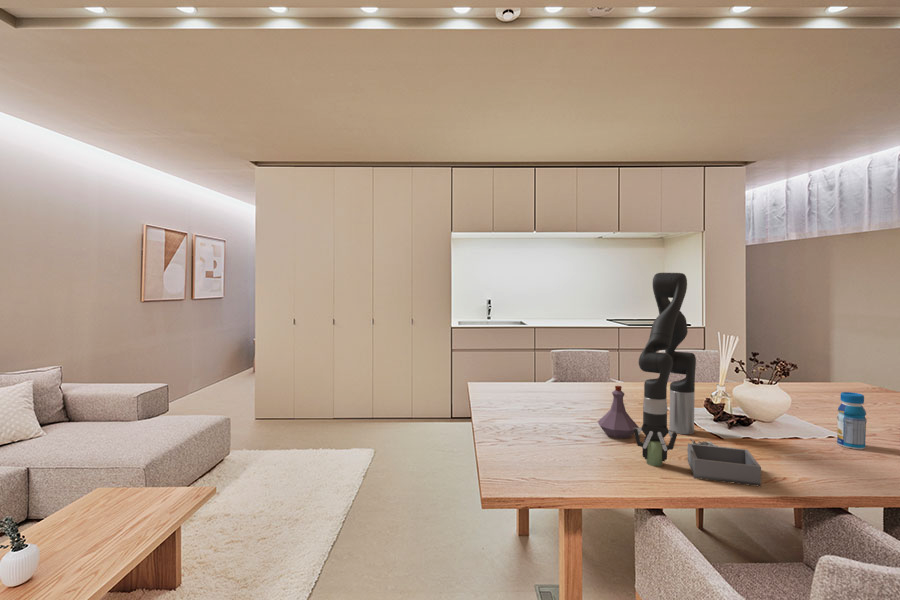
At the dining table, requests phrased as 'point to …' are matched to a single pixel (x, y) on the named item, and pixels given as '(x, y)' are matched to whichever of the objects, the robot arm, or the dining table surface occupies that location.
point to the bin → (723, 464)
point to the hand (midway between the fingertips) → (654, 459)
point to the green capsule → (654, 453)
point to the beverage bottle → (851, 421)
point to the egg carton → (703, 443)
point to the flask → (617, 418)
